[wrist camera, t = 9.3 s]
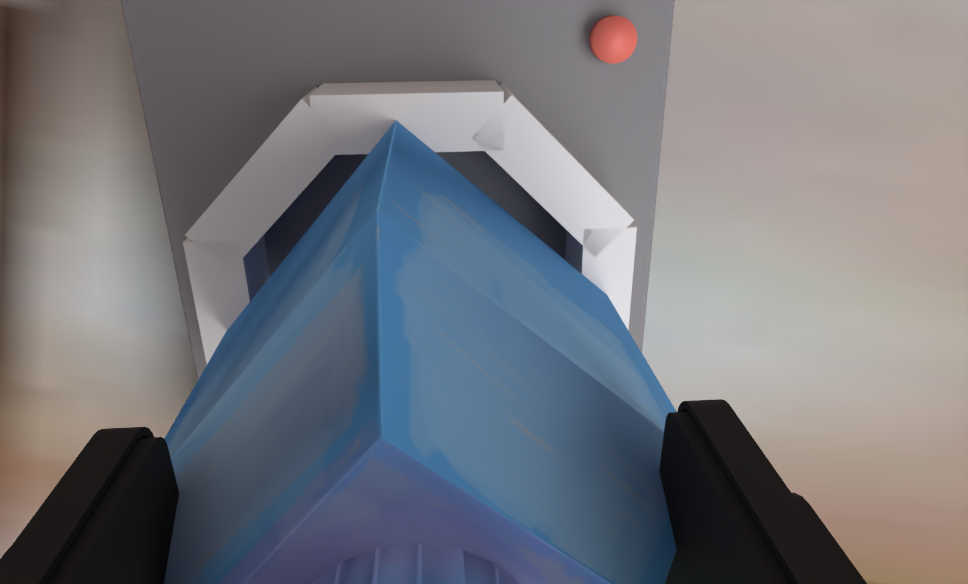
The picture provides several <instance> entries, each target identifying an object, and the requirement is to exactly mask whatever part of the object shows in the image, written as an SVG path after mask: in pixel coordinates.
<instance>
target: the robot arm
mask: <svg viewBox="0 0 968 584" xmlns="http://www.w3.org/2000/svg"><path fill="white" fill-rule="evenodd" d="M659 472H660V477H661V481H662V486H663V490H664V495H665V499H666V504H667V508H668V513H669V517H670V522H671V526H672V531H673V535H674V540H675V544H676V549H677V550H676V553H675V556H674V559H673V562H672V565H671V568H670V570H669V573H668V576H667V579H666V582H665V584H867V583H866V582H865V580H864V579H863V578H862V576H861V575H860V574H859V572H858V571H857V569H856V568H855V567H854V565H853V564H852V562H851V561H850V560H849V558H848V557H847V556H846V554H845V553H844V551H843V550H842V549H841V547H840V546H839V544H838V543H837V542H836V540H835V539H834V538H833V536H832V535H831V533H830V532H829V531H828V529H827V528H826V526H825V525H824V524H823V522H822V521H821V520H820V518H819V517H818V515H817V514H816V513H815V511H814V510H813V508H812V507H811V506H810V505H809V503H808V502H807V501H806V500H805V499H804V498H803V497H802V496H800V495H798V494H796V493H791V492H790V490H789V489H788V488H787V486H786V485H785V483H784V482H783V480H782V479H781V478H780V476H779V475H778V473H777V472H776V470H775V469H774V468H773V466H772V465H771V463H770V462H769V460H768V459H767V458H766V456H765V455H764V453H763V452H762V451H761V449H760V448H759V446H758V445H757V443H756V442H755V441H754V439H753V438H752V436H751V435H750V433H749V432H748V431H747V429H746V428H745V426H744V425H743V424H742V422H741V421H740V419H739V418H738V416H737V415H736V414H735V412H734V411H733V409H732V408H731V406H730V405H729V404H728V403H727V402H726V401H725V400H721V399H720V400H699V401H683V402H682V403H681V404H680V406H679V408H678V412H670V413H668V414H667V417H666V421H665V428H664V436H663V444H662V453H661V461H660V469H659ZM178 497H179V490H178V486H177V482H176V478H175V474H174V469H173V465H172V461H171V457H170V453H169V449H168V445H167V443H166V441H165V439H164V438H161V437H155V438H154V436H153V433H152V432H151V431H150V429H149V428H146V427H133V428H113V429H102V430H98V431H97V432H96V433H95V434H94V435H93V437H92V438H91V439H90V441H89V442H88V443H87V445H86V446H85V447H84V449H83V450H82V451H81V453H80V454H79V455H78V457H77V458H76V460H75V461H74V462H73V464H72V465H71V466H70V468H69V469H68V470H67V472H66V473H65V474H64V476H63V477H62V478H61V480H60V481H59V483H58V484H57V485H56V487H55V488H54V489H53V491H52V492H51V493H50V495H49V496H48V497H47V499H46V500H45V501H44V503H43V504H42V505H41V507H40V508H39V510H38V511H37V512H36V514H35V515H34V516H33V518H32V519H31V520H30V522H29V523H28V524H27V526H26V527H25V528H24V530H23V531H22V532H21V534H20V535H19V537H18V538H17V539H16V541H15V542H14V543H13V545H12V546H11V547H10V548H9V549H8V550H7V551H6V552H5V554H4V555H3V556H2V558H1V559H0V584H164V580H165V574H166V568H167V562H168V556H169V550H170V545H171V539H172V533H173V527H174V521H175V515H176V509H177V503H178Z"/></svg>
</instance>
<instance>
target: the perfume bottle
mask: <svg viewBox="0 0 968 584" xmlns="http://www.w3.org/2000/svg"><path fill="white" fill-rule="evenodd" d="M670 412H676V410H675V408H674V407H673V405H672V403H671V402H670V400H669V398H668V397H667V395H666V393H665V392H664V390H663V388H662V387H661V385H660V383H659V381H658V380H657V378H656V376H655V375H654V373H653V371H652V370H651V368H650V366H649V365H648V363H647V361H646V359H645V358H644V356H643V354H642V353H641V351H640V349H639V348H638V346H637V344H636V343H635V341H634V339H633V338H632V336H631V334H630V332H629V331H628V329H627V327H626V326H625V324H624V322H623V321H622V319H621V317H620V316H619V314H618V312H617V311H616V309H615V307H614V305H613V304H612V302H611V300H610V299H609V297H608V295H607V294H606V293H604V292H603V291H602V290H601V289H599V288H598V287H597V286H596V285H595V284H593V283H592V282H591V281H590V280H589V279H587V278H586V277H585V276H584V275H583V274H581V273H580V272H579V271H578V270H577V269H575V268H574V267H573V266H572V265H570V264H569V263H568V262H567V261H566V260H564V259H563V258H562V257H561V256H560V255H558V254H557V253H556V252H555V251H554V250H552V249H551V248H550V247H549V246H548V245H546V244H545V243H544V242H543V241H542V240H540V239H539V238H538V237H537V236H535V235H534V234H533V233H532V232H531V231H529V230H528V229H527V228H526V227H525V226H523V225H522V224H521V223H520V222H519V221H517V220H516V219H515V218H514V217H513V216H511V215H510V214H509V213H508V212H506V211H505V210H504V209H503V208H502V207H500V206H499V205H498V204H497V203H496V202H494V201H493V200H492V199H491V198H490V197H488V196H487V195H486V194H485V193H484V192H482V191H481V190H480V189H479V188H477V187H476V186H475V185H474V184H473V183H471V182H470V181H469V180H468V179H467V178H465V177H464V176H463V175H462V174H461V173H459V172H458V171H457V170H456V169H455V168H453V167H452V166H451V165H450V164H449V163H447V162H446V161H445V160H444V159H442V158H441V157H440V156H439V155H438V154H436V153H435V152H434V151H433V150H432V149H430V148H429V147H428V146H427V145H426V144H424V143H423V142H422V141H421V140H420V139H418V138H417V137H416V136H415V135H413V134H412V133H411V132H410V131H409V130H407V129H406V128H405V127H404V126H403V125H401V124H400V123H399V122H398V121H397V120H395V122H394V123H393V124H392V125H391V127H390V128H389V129H388V130H387V132H386V133H385V134H384V135H383V137H382V138H381V139H380V140H379V142H378V143H377V144H376V145H375V147H374V148H373V149H372V150H371V152H370V153H369V154H368V155H367V157H366V158H365V159H364V160H363V162H362V163H361V164H360V165H359V167H358V168H357V169H356V170H355V172H354V173H353V174H352V175H351V177H350V178H349V179H348V180H347V182H346V183H345V184H344V185H343V186H342V188H341V189H340V190H339V191H338V193H337V194H336V195H335V196H334V198H333V199H332V200H331V201H330V203H329V204H328V205H327V206H326V208H325V209H324V210H323V211H322V213H321V214H320V215H319V216H318V218H317V219H316V220H315V221H314V223H313V224H312V225H311V226H310V228H309V229H308V230H307V231H306V233H305V234H304V235H303V236H302V238H301V239H300V240H299V241H298V243H297V244H296V245H295V246H294V248H293V249H292V250H291V251H290V253H289V254H288V255H287V256H286V258H285V259H284V260H283V261H282V262H281V264H280V265H279V266H278V267H277V269H276V270H275V271H274V272H273V274H272V275H271V276H270V277H269V279H268V280H267V281H266V282H265V284H264V285H263V286H262V287H261V289H260V290H259V291H258V292H257V294H256V295H255V296H254V297H253V299H252V300H251V301H250V302H249V304H248V305H247V306H246V307H245V309H244V310H243V311H242V312H241V314H240V315H239V316H238V317H237V319H236V320H235V321H234V322H233V324H232V325H231V326H230V327H229V329H228V330H227V331H226V333H225V334H224V336H223V338H222V339H221V341H220V343H219V345H218V346H217V348H216V350H215V352H214V353H213V355H212V357H211V359H210V360H209V362H208V364H207V366H206V367H205V369H204V371H203V373H202V374H201V376H200V378H199V380H198V381H197V383H196V385H195V387H194V388H193V390H192V392H191V393H190V395H189V397H188V399H187V400H186V402H185V404H184V406H183V407H182V409H181V411H180V413H179V414H178V416H177V418H176V420H175V421H174V423H173V425H172V427H171V428H170V430H169V432H168V434H167V435H166V437H165V441H166V443H167V445H168V449H169V453H170V457H171V461H172V465H173V469H174V474H175V478H176V482H177V486H178V490H179V497H178V503H177V509H176V515H175V521H174V527H173V533H172V539H171V545H170V550H169V556H168V562H167V568H166V574H165V580H164V584H665V582H666V579H667V576H668V573H669V570H670V568H671V565H672V562H673V559H674V556H675V553H676V550H677V549H676V544H675V540H674V535H673V531H672V526H671V522H670V517H669V513H668V508H667V504H666V499H665V495H664V490H663V486H662V481H661V477H660V472H659V469H660V461H661V453H662V444H663V436H664V428H665V421H666V417H667V414H668V413H670Z"/></svg>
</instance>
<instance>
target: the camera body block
mask: <svg viewBox="0 0 968 584" xmlns="http://www.w3.org/2000/svg"><path fill="white" fill-rule="evenodd" d="M121 3H122V8H123V13H124V17H125V22H126V27H127V32H128V37H129V42H130V47H131V52H132V57H133V62H134V67H135V72H136V77H137V82H138V86H139V91H140V96H141V101H142V106H143V111H144V116H145V121H146V126H147V131H148V136H149V141H150V146H151V150H152V155H153V160H154V165H155V170H156V175H157V180H158V185H159V190H160V195H161V200H162V205H163V210H164V214H165V219H166V224H167V229H168V234H169V239H170V244H171V249H172V254H173V259H174V264H175V269H176V274H177V279H178V283H179V288H180V293H181V298H182V303H183V308H184V313H185V318H186V323H187V328H188V333H189V338H190V343H191V347H192V352H193V357H194V362H195V367H196V372H197V377H198V380H199V378H200V376H201V374H202V373H203V371H204V369H205V367H206V366H207V364H208V362H209V360H210V359H211V357H212V355H213V353H214V352H215V350H216V348H217V346H218V345H219V343H220V341H221V339H222V338H223V336H224V334H225V333H226V331H227V330H228V329H229V327H230V326H231V325H232V324H233V322H234V321H235V320H236V319H237V317H238V316H239V315H240V314H241V312H242V311H243V310H244V309H245V307H246V306H247V305H248V304H249V302H250V301H251V300H252V299H253V297H254V296H255V295H256V294H257V292H258V291H259V290H260V289H261V287H262V286H263V285H264V284H265V282H266V281H267V280H268V279H269V277H270V276H271V275H272V274H273V272H274V271H275V270H276V269H277V267H278V266H279V265H280V264H281V262H282V261H283V260H284V259H285V258H286V256H287V255H288V254H289V253H290V251H291V250H292V249H293V248H294V246H295V245H296V244H297V243H298V241H299V240H300V239H301V238H302V236H303V235H304V234H305V233H306V231H307V230H308V229H309V228H310V226H311V225H312V224H313V223H314V221H315V220H316V219H317V218H318V216H319V215H320V214H321V213H322V211H323V210H324V209H325V208H326V206H327V205H328V204H329V203H330V201H331V200H332V199H333V198H334V196H335V195H336V194H337V193H338V191H339V190H340V189H341V188H342V186H343V185H344V184H345V183H346V182H347V180H348V179H349V178H350V177H351V175H352V174H353V173H354V172H355V170H356V169H357V168H358V167H359V165H360V164H361V163H362V162H363V160H364V159H365V158H366V157H367V155H368V154H369V153H370V152H371V150H372V149H373V148H374V147H375V145H376V144H377V143H378V142H379V140H380V139H381V138H382V137H383V135H384V134H385V133H386V132H387V130H388V129H389V128H390V127H391V125H392V124H393V123H394V122H395V120H397V121H398V122H399V123H400V124H401V125H403V126H404V127H405V128H406V129H407V130H409V131H410V132H411V133H412V134H413V135H415V136H416V137H417V138H418V139H420V140H421V141H422V142H423V143H424V144H426V145H427V146H428V147H429V148H430V149H432V150H433V151H434V152H435V153H436V154H438V155H439V156H440V157H441V158H442V159H444V160H445V161H446V162H447V163H449V164H450V165H451V166H452V167H453V168H455V169H456V170H457V171H458V172H459V173H461V174H462V175H463V176H464V177H465V178H467V179H468V180H469V181H470V182H471V183H473V184H474V185H475V186H476V187H477V188H479V189H480V190H481V191H482V192H484V193H485V194H486V195H487V196H488V197H490V198H491V199H492V200H493V201H494V202H496V203H497V204H498V205H499V206H500V207H502V208H503V209H504V210H505V211H506V212H508V213H509V214H510V215H511V216H513V217H514V218H515V219H516V220H517V221H519V222H520V223H521V224H522V225H523V226H525V227H526V228H527V229H528V230H529V231H531V232H532V233H533V234H534V235H535V236H537V237H538V238H539V239H540V240H542V241H543V242H544V243H545V244H546V245H548V246H549V247H550V248H551V249H552V250H554V251H555V252H556V253H557V254H558V255H560V256H561V257H562V258H563V259H564V260H566V261H567V262H568V263H569V264H570V265H572V266H573V267H574V268H575V269H577V270H578V271H579V272H580V273H581V274H583V275H584V276H585V277H586V278H587V279H589V280H590V281H591V282H592V283H593V284H595V285H596V286H597V287H598V288H599V289H601V290H602V291H603V292H604V293H606V294H607V295H608V297H609V299H610V300H611V302H612V304H613V305H614V307H615V309H616V311H617V312H618V314H619V316H620V317H621V319H622V321H623V322H624V324H625V326H626V327H627V329H628V331H629V332H630V334H631V336H632V338H633V339H634V341H635V343H636V344H637V346H638V348H639V349H640V351H641V353H642V345H643V334H644V323H645V313H646V302H647V291H648V280H649V270H650V259H651V248H652V237H653V226H654V216H655V205H656V194H657V183H658V172H659V162H660V151H661V140H662V129H663V118H664V108H665V97H666V86H667V75H668V65H669V54H670V43H671V32H672V21H673V11H674V0H121Z"/></svg>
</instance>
